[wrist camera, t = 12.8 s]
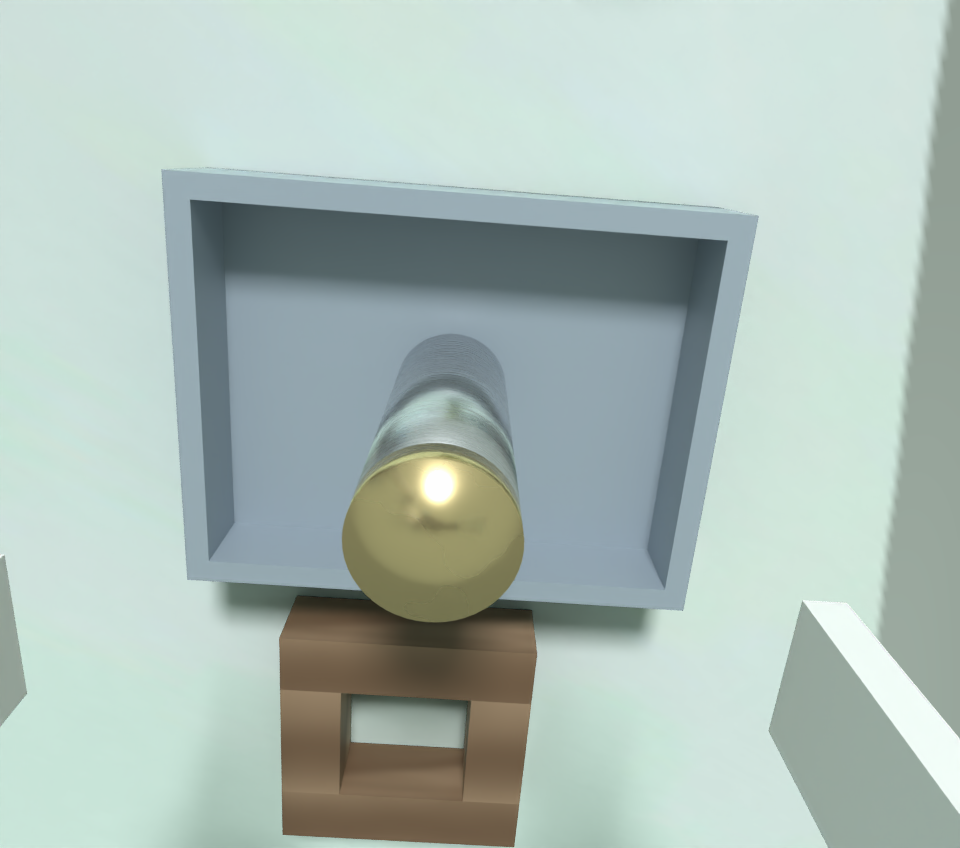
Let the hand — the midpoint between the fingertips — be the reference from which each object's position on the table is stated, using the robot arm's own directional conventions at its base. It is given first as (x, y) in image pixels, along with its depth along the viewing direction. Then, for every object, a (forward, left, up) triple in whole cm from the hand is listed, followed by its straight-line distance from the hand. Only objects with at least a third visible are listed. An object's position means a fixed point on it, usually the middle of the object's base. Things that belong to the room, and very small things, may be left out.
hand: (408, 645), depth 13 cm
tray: (0, 0, -17) cm, 17 cm away
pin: (0, 0, -16) cm, 16 cm away
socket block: (+15, -1, -17) cm, 23 cm away
